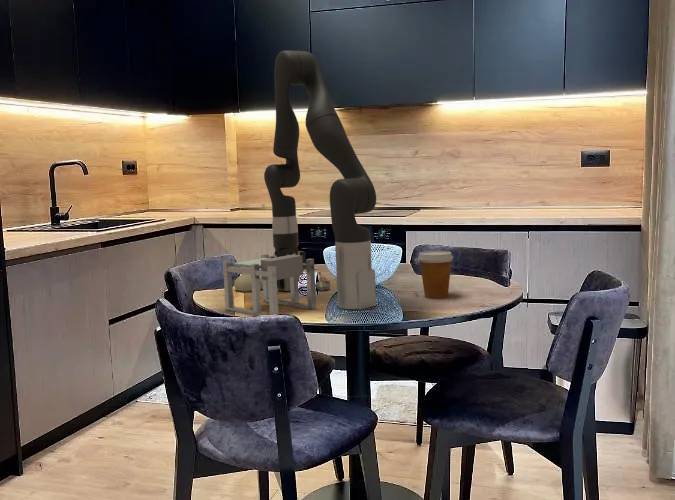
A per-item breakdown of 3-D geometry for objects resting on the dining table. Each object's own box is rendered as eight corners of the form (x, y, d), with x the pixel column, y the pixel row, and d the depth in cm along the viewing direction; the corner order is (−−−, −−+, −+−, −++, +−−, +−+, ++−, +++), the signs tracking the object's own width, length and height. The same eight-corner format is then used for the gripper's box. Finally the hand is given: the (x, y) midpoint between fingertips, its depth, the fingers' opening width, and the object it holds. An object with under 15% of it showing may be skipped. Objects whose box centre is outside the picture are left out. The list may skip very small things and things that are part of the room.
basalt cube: (300, 288, 204) (299, 272, 203) (287, 291, 200) (286, 274, 200) (289, 286, 207) (288, 270, 207) (276, 289, 204) (275, 273, 203)
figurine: (317, 287, 205) (316, 268, 204) (331, 287, 205) (331, 268, 203) (314, 293, 200) (313, 274, 199) (328, 293, 200) (328, 274, 198)
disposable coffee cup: (440, 301, 179) (439, 256, 178) (411, 297, 186) (410, 253, 184) (460, 295, 186) (460, 251, 184) (432, 291, 192) (431, 249, 191)
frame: (316, 308, 176) (314, 259, 175) (274, 319, 166) (271, 266, 164) (267, 300, 190) (265, 254, 188) (225, 309, 179) (222, 261, 178)
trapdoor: (303, 274, 175) (302, 255, 175) (272, 281, 168) (271, 261, 167) (265, 270, 186) (264, 252, 185) (234, 275, 178) (232, 257, 178)
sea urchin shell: (267, 280, 212) (262, 265, 206) (264, 301, 207) (260, 286, 201) (239, 280, 213) (233, 265, 207) (235, 301, 208) (230, 287, 202)
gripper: (275, 234, 194) (278, 292, 196) (311, 229, 204) (314, 285, 206) (258, 233, 199) (262, 290, 201) (294, 228, 209) (297, 282, 212)
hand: (288, 287), depth 204 cm, fingers closed on basalt cube, 5 cm apart
